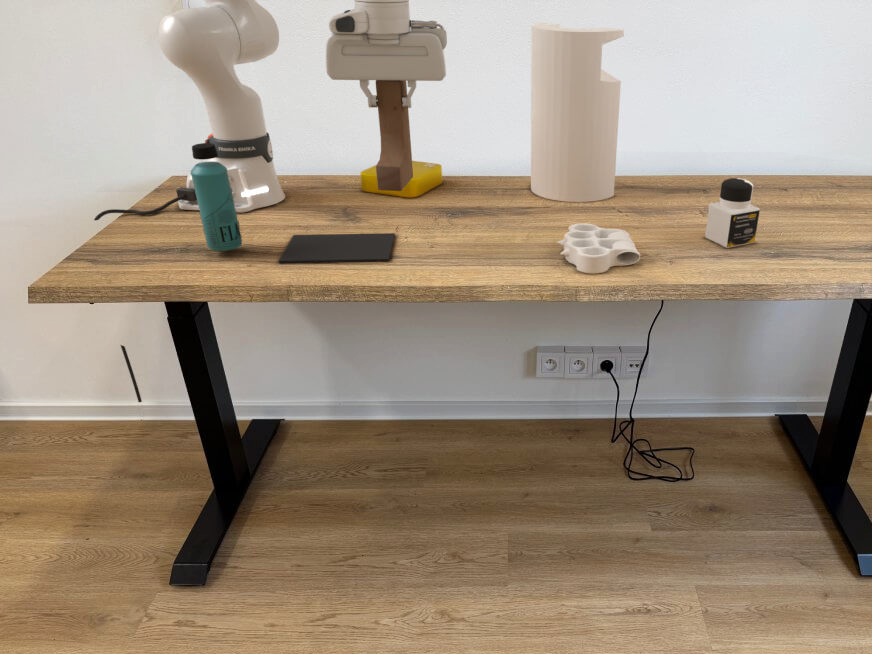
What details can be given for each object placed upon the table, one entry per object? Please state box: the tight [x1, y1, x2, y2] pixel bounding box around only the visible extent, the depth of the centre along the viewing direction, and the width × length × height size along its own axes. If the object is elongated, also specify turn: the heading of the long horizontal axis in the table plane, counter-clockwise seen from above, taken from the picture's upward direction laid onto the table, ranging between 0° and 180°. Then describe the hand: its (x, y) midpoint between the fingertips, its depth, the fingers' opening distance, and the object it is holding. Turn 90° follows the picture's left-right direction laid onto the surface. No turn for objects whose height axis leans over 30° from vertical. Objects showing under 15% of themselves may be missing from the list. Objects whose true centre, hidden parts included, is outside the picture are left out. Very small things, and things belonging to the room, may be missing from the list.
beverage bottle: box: [189, 142, 243, 252], centre depth 141 cm, size 6×7×20 cm
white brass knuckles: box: [556, 222, 641, 275], centre depth 146 cm, size 3×18×15 cm
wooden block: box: [375, 80, 413, 191], centre depth 139 cm, size 9×4×18 cm, turn 174°
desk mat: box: [278, 232, 396, 264], centre depth 149 cm, size 20×14×1 cm
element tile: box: [359, 160, 443, 199], centre depth 183 cm, size 15×15×5 cm
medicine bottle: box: [704, 177, 761, 249], centre depth 152 cm, size 7×7×12 cm
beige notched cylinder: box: [530, 22, 625, 203], centre depth 171 cm, size 35×11×21 cm
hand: (390, 107), depth 136 cm, fingers closed on wooden block, 4 cm apart
